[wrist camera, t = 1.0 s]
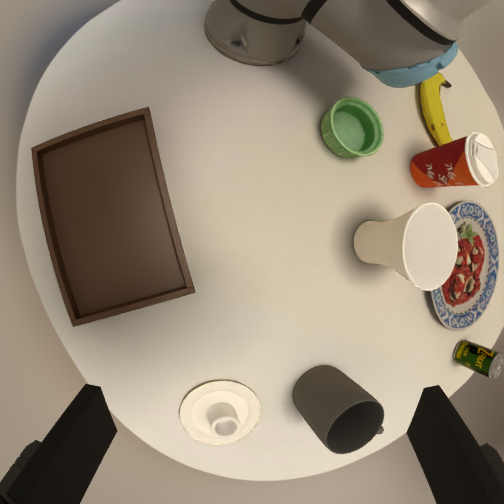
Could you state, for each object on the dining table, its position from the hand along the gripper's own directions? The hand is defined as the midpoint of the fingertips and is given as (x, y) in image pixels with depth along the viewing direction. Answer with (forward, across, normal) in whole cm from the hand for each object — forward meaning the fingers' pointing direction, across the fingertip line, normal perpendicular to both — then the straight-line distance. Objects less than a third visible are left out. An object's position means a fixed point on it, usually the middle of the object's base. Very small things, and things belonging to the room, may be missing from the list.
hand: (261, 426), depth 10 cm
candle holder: (+25, -7, -24) cm, 35 cm away
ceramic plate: (+42, +40, -7) cm, 58 cm away
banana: (+46, +35, +24) cm, 63 cm away
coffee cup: (+41, +28, +11) cm, 51 cm away
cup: (+36, +16, -1) cm, 39 cm away
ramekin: (+38, +12, +16) cm, 42 cm away
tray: (+26, -20, +5) cm, 33 cm away
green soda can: (+39, +43, -26) cm, 63 cm away
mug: (+30, +10, -24) cm, 40 cm away
